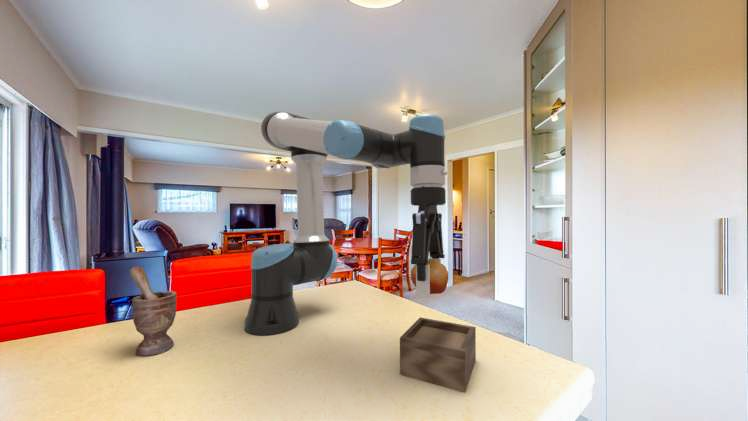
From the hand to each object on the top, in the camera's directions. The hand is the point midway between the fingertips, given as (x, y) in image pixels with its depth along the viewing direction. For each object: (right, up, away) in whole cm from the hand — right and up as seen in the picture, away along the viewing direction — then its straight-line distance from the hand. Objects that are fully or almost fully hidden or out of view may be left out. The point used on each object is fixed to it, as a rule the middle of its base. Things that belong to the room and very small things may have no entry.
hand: (429, 291), depth 63 cm
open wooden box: (+2, -16, -1) cm, 16 cm away
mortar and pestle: (-67, -16, +7) cm, 69 cm away
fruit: (0, -1, 0) cm, 1 cm away
